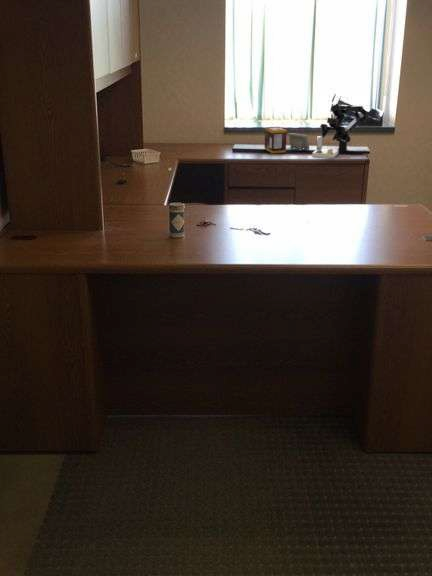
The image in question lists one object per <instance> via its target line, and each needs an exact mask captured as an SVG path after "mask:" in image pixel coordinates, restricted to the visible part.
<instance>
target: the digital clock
mask: <svg viewBox="0 0 432 576" xmlns="http://www.w3.org/2000/svg"><path fill="white" fill-rule="evenodd" d="M288 138H289V144H290V145H289V146H290V148H295V149H303V148H305V149H304V150H307V149H308V150H310V142H309V137H308V135H307V134H299V133H294V132H293V133H292V132H289V133H288ZM295 149H294V150H295Z"/></svg>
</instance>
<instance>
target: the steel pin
mask: <svg viewBox="0 0 432 576" xmlns="http://www.w3.org/2000/svg"><path fill="white" fill-rule="evenodd" d="M323 140H324V138H323V137H322V135H319V136H318V135H317V137H316V150H317V151H316V153H322V149H323Z"/></svg>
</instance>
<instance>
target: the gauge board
mask: <svg viewBox="0 0 432 576" xmlns="http://www.w3.org/2000/svg"><path fill="white" fill-rule="evenodd" d="M316 151H317V149H315V150H314V151H313V152H312V155H311V156H312V157H314V158H325V159H334V158H335V157H336V156H338V154H339V150H337V149H333V148H322V153H316Z"/></svg>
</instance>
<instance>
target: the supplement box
mask: <svg viewBox="0 0 432 576" xmlns="http://www.w3.org/2000/svg"><path fill="white" fill-rule="evenodd" d="M264 148H265V149H267V150H266V151H267V152H269V153H271V154H280V153H281V154H282V153H287V129H286V128H282V127H280V126H266V127H264ZM265 149H264V150H265Z"/></svg>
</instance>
